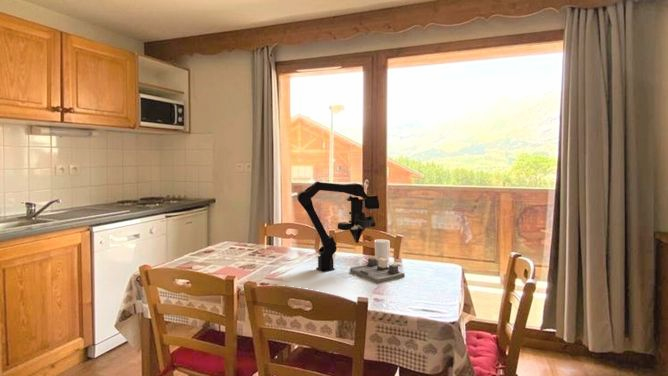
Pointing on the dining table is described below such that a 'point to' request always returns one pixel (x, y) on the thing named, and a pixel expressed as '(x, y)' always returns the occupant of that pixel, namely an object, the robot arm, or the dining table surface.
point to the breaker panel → (377, 272)
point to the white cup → (382, 249)
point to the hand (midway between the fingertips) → (357, 242)
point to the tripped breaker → (382, 264)
